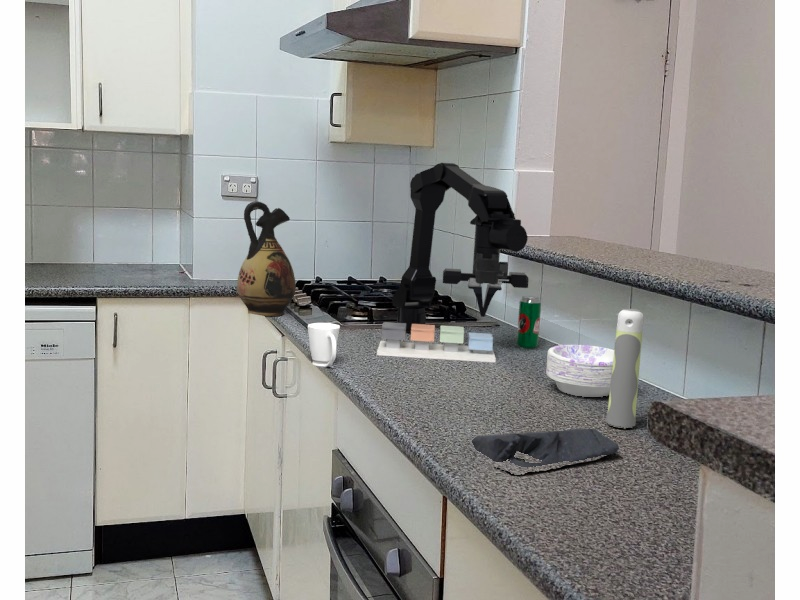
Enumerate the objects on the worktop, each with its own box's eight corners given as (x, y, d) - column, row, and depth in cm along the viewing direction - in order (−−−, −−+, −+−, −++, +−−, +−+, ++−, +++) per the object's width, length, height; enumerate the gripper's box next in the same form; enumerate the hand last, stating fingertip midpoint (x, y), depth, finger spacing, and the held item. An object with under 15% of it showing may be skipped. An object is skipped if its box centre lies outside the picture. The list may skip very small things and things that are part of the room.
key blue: (468, 349, 194) (469, 336, 194) (467, 344, 199) (468, 332, 199) (492, 350, 194) (493, 338, 194) (490, 345, 199) (491, 333, 199)
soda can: (537, 349, 207) (541, 299, 205) (515, 347, 208) (519, 298, 206) (538, 345, 212) (541, 296, 210) (517, 343, 213) (520, 295, 211)
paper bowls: (576, 405, 160) (579, 363, 158) (529, 384, 173) (532, 345, 172) (641, 399, 166) (645, 359, 165) (591, 380, 180) (595, 342, 178)
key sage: (439, 342, 194) (440, 329, 194) (439, 337, 199) (440, 325, 199) (463, 343, 194) (464, 331, 194) (462, 338, 199) (463, 326, 199)
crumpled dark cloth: (634, 466, 129) (637, 435, 129) (506, 481, 120) (508, 448, 120) (573, 435, 143) (575, 407, 142) (454, 446, 134) (456, 416, 133)
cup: (332, 359, 186) (333, 322, 185) (349, 370, 177) (351, 331, 176) (300, 361, 183) (302, 323, 182) (317, 372, 174) (318, 332, 173)
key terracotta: (410, 340, 195) (411, 327, 194) (411, 335, 200) (412, 323, 199) (433, 341, 194) (434, 329, 194) (434, 337, 200) (434, 325, 199)
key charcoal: (381, 338, 195) (382, 326, 194) (382, 334, 200) (383, 322, 200) (404, 339, 195) (405, 327, 194) (405, 335, 200) (406, 323, 199)
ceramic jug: (284, 308, 246) (287, 200, 241) (302, 318, 232) (306, 204, 227) (224, 309, 238) (226, 199, 234) (239, 319, 224) (242, 202, 220)
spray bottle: (603, 427, 146) (614, 310, 143) (607, 420, 151) (618, 306, 148) (633, 432, 145) (645, 313, 142) (636, 424, 149) (647, 309, 146)
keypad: (376, 355, 192) (377, 338, 191) (380, 344, 204) (381, 328, 203) (495, 362, 191) (496, 345, 190) (492, 350, 203) (493, 334, 202)
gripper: (445, 247, 186) (440, 320, 188) (533, 252, 185) (528, 325, 187) (444, 243, 197) (440, 311, 199) (528, 247, 196) (523, 316, 198)
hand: (482, 316), depth 196 cm, fingers closed
